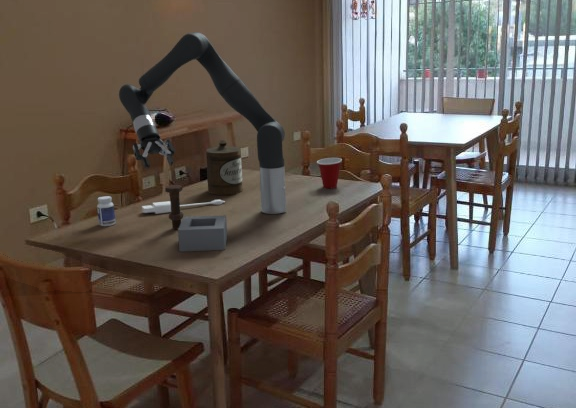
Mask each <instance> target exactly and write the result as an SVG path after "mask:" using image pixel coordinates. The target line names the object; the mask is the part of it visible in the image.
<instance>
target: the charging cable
mask: <svg viewBox="0 0 576 408" xmlns="http://www.w3.org/2000/svg"><path fill="white" fill-rule="evenodd" d="M223 203H224V204H225V203H226V201H225V200H222V199H220V198H219V199H214V200H211V201H208V202H200V203H199V202H198V203H188V204H180V208H181V207H191V206H201V205H209V204H210V205H215V206H218V205H223ZM141 211H142V212H143V213H144V214H148V213H154V214H155V215H158V214H166V213H167V214H168V213H171V204H170V201H168V200H167V201H159V202H152V205H151V204H150V205H141Z"/></svg>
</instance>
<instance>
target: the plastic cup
mask: <svg viewBox="0 0 576 408" xmlns="http://www.w3.org/2000/svg"><path fill="white" fill-rule="evenodd" d="M342 161H343V159H342V158H339V157H327V158H321V159H319V160H317V161H316V164H317V165H318V167H319V173H320V177H321V181H322V186H323V188H325V189H335V188H337V187H338V180H339V176H340V169H341V164H342Z"/></svg>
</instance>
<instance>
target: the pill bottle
mask: <svg viewBox="0 0 576 408" xmlns="http://www.w3.org/2000/svg"><path fill="white" fill-rule="evenodd" d="M112 200H113V199H112V196H108V195H107V196H99V197H98V198H97V202H98V203H97V205H96V209H97V216H98V217H97V218H98V224H99V226H101V227H110V226H113V225H115V224H116V223H117V221H116V212H115V205H114V203H113V201H112Z"/></svg>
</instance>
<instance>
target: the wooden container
mask: <svg viewBox="0 0 576 408" xmlns="http://www.w3.org/2000/svg"><path fill="white" fill-rule="evenodd" d="M227 144H228V142H227V140H224V139H221V140H219V142H218V145H219V146H215V147H209V148H206V151H205V153H206V154H205V155H206V176H207V192H208V193H209V194H212V195H216V196H217V195H218V196H228V195H234V194H238V193H241V192H243V170H242V169H243V168H242V149H241V148H240V147H237V146H228V145H227Z"/></svg>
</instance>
